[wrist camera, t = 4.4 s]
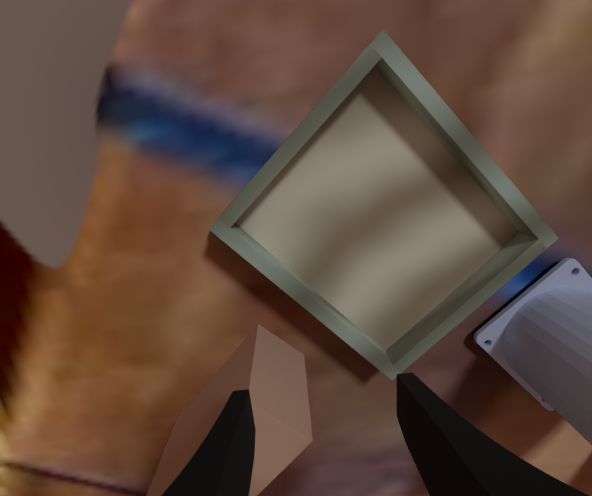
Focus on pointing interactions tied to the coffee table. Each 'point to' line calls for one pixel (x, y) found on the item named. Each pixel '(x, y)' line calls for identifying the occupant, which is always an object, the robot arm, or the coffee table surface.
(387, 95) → the shallow square tray
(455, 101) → the coffee table surface
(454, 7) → the coffee table surface
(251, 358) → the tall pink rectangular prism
